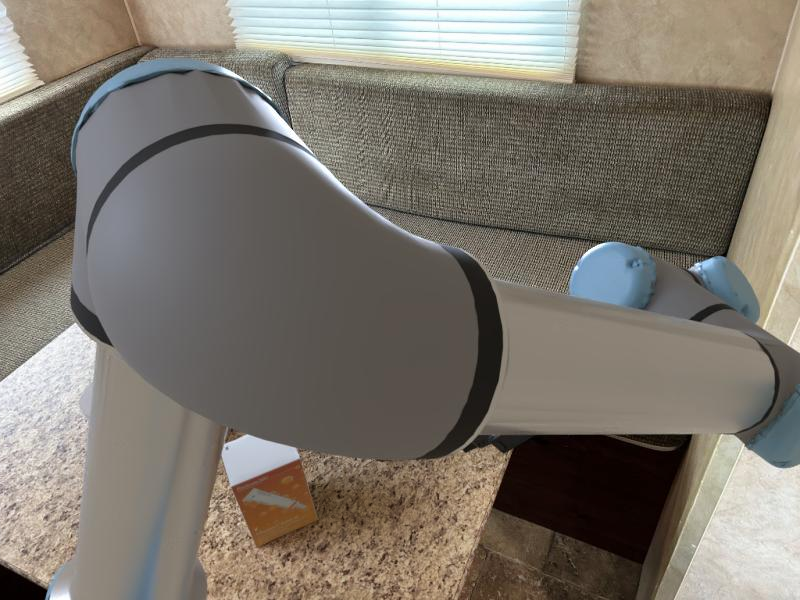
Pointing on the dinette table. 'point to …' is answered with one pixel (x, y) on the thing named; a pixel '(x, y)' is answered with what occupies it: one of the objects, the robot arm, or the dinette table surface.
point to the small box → (268, 487)
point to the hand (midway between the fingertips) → (466, 416)
